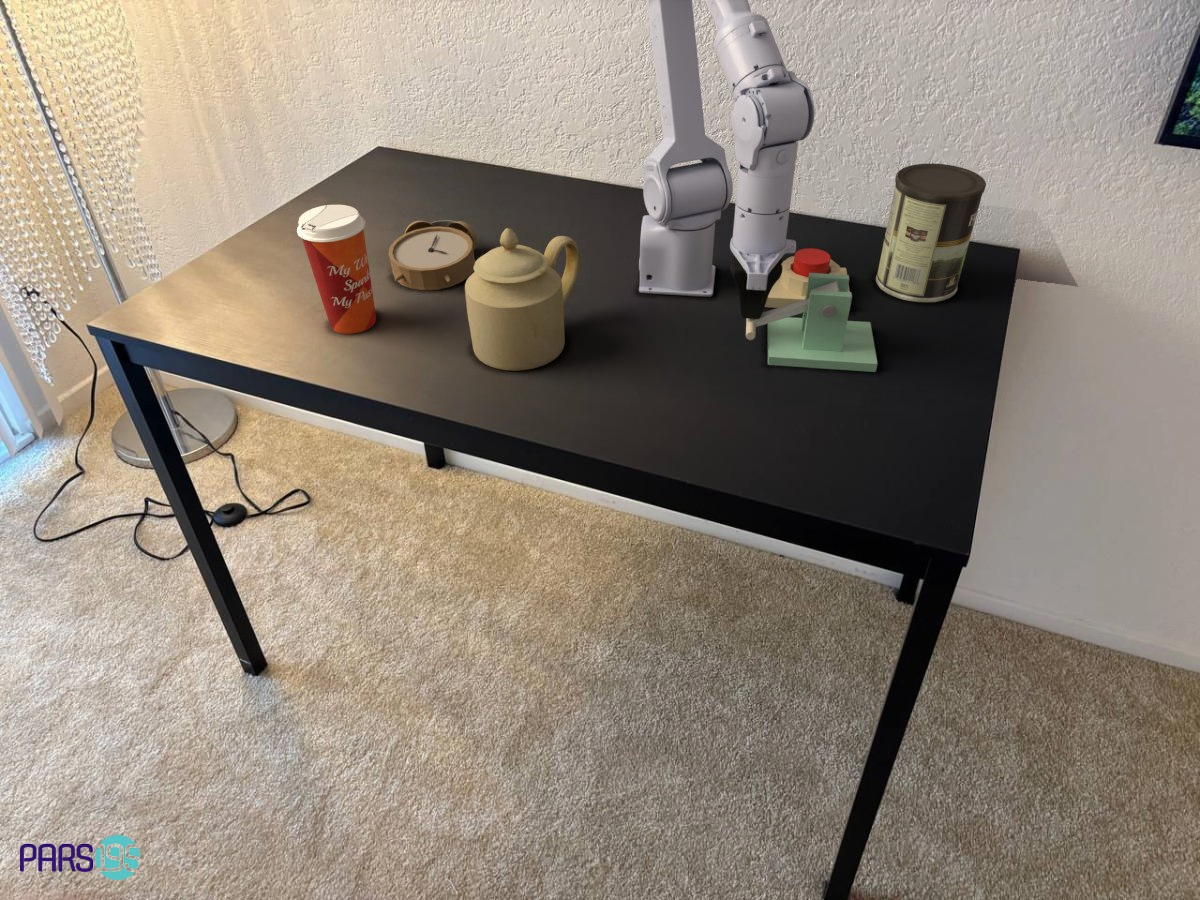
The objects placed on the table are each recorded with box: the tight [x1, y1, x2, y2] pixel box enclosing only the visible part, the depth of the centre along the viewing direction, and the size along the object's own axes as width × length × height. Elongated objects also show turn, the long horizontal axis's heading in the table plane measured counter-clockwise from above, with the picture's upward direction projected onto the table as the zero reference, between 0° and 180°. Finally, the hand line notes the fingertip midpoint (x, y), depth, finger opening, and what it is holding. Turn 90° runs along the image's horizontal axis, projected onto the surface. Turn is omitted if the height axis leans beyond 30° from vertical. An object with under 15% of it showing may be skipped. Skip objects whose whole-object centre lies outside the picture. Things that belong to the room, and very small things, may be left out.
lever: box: [745, 282, 840, 341], centre depth 98 cm, size 11×6×2 cm, turn 80°
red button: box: [793, 247, 831, 277], centre depth 108 cm, size 4×4×2 cm
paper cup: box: [296, 204, 377, 335], centre depth 103 cm, size 8×8×14 cm
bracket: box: [767, 273, 878, 373], centre depth 98 cm, size 12×9×8 cm
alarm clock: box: [388, 219, 478, 291], centre depth 118 cm, size 11×5×15 cm
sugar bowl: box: [464, 227, 581, 372], centre depth 99 cm, size 15×11×15 cm
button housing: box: [764, 255, 852, 312], centre depth 110 cm, size 12×9×4 cm
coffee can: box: [875, 162, 987, 304], centre depth 108 cm, size 10×10×14 cm
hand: (750, 315), depth 100 cm, fingers closed, pressing on lever
